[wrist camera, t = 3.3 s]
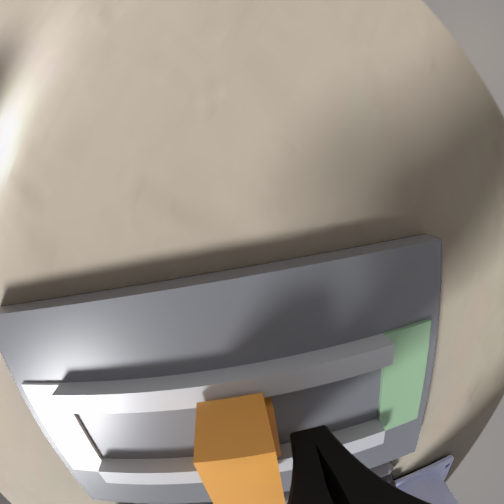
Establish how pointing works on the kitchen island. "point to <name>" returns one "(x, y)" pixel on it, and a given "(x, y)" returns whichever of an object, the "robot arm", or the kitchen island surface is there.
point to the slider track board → (230, 363)
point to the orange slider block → (238, 450)
